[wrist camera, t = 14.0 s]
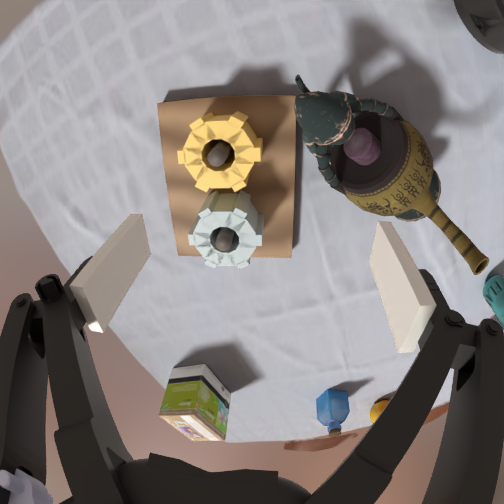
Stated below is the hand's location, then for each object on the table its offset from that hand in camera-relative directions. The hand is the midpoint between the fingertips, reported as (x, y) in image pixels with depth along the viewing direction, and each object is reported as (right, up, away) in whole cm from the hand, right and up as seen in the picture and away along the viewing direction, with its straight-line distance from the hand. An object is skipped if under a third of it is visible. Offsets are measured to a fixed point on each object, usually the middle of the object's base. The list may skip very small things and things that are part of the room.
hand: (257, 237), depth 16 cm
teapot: (+23, +5, +18) cm, 29 cm away
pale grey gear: (-3, +4, +27) cm, 28 cm away
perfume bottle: (+21, -39, +55) cm, 71 cm away
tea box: (-13, -34, +55) cm, 66 cm away
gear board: (-3, +10, +26) cm, 28 cm away
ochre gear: (-4, +13, +21) cm, 25 cm away
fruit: (+38, -46, +58) cm, 83 cm away
